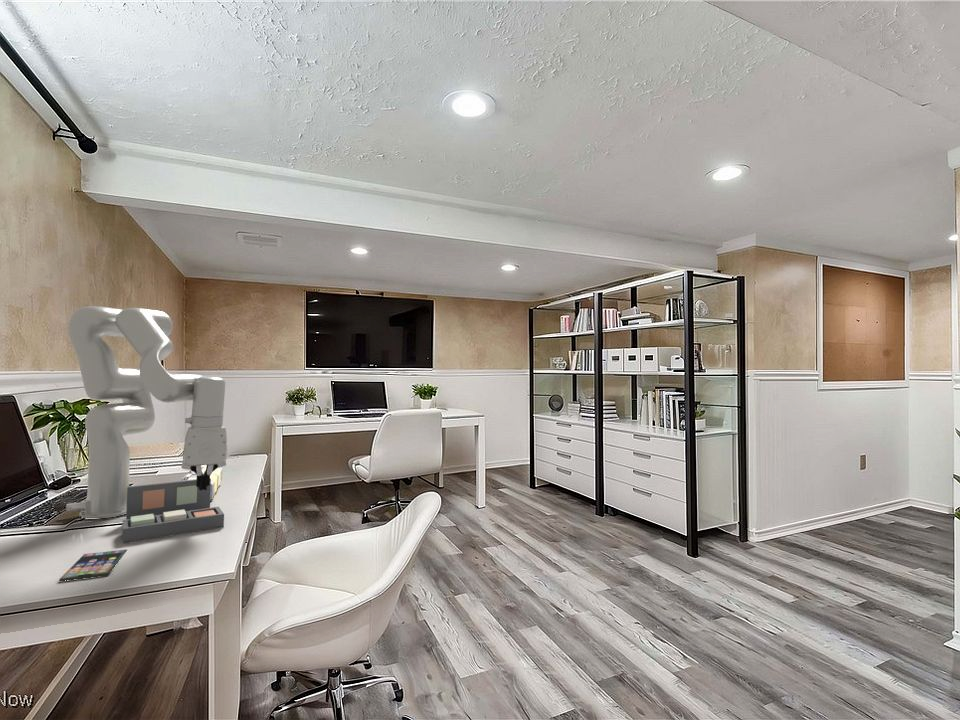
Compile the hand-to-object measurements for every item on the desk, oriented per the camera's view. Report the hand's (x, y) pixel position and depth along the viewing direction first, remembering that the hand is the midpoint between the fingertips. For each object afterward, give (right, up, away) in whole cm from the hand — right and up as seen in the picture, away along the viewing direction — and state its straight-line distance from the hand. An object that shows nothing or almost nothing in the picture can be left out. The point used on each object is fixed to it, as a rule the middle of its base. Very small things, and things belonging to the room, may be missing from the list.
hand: (202, 488), depth 132 cm
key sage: (-10, -8, -9) cm, 16 cm away
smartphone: (-8, -10, -27) cm, 30 cm away
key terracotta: (+1, -9, 0) cm, 9 cm away
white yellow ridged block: (-18, -10, +30) cm, 36 cm away
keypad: (-8, -10, 0) cm, 13 cm away
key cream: (-5, -8, -5) cm, 10 cm away
